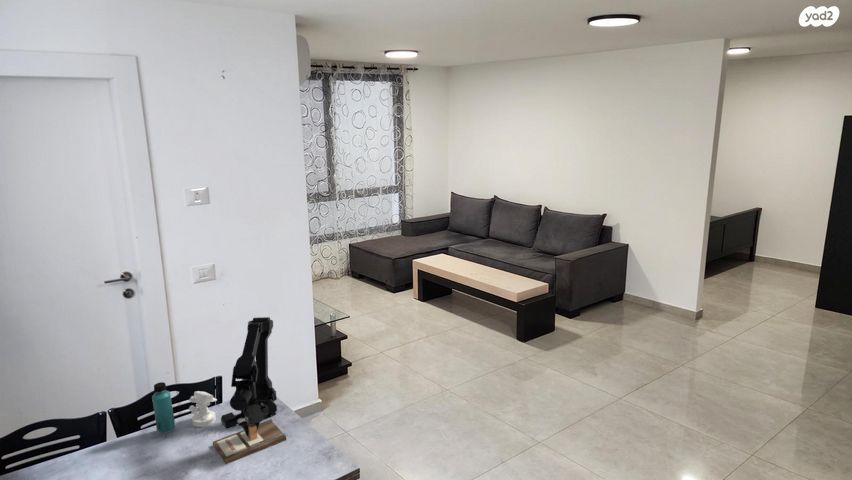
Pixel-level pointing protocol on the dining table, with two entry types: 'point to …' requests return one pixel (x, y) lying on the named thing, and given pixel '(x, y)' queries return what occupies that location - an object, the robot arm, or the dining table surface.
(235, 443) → the ticket board
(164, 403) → the beverage bottle
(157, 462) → the dining table surface
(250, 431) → the stub
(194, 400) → the character figurine
